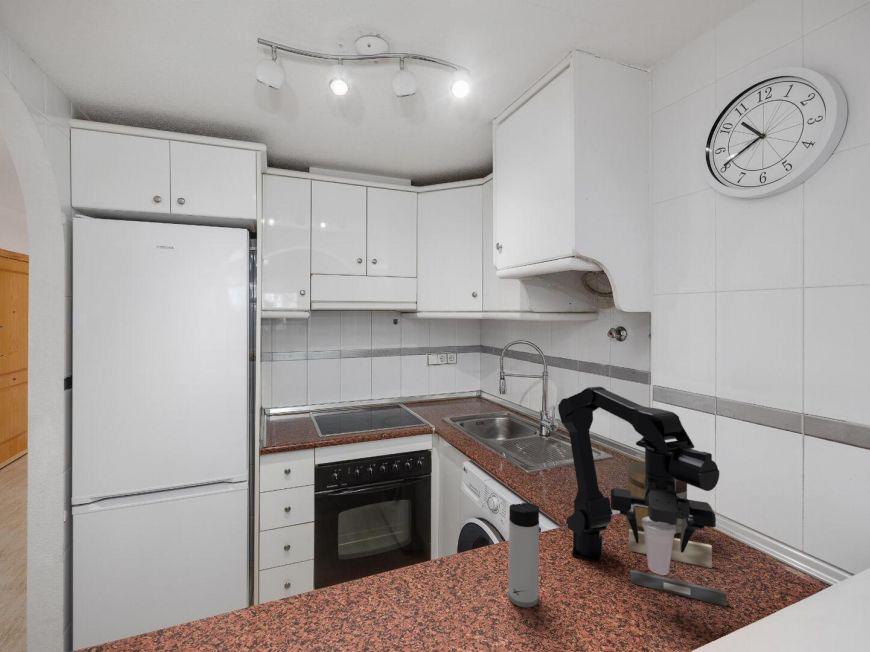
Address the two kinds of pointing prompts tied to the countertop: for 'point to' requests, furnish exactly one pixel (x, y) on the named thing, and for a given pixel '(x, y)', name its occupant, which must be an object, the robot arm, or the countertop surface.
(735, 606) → the countertop surface
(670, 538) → the smoothie
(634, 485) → the wooden container
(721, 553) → the countertop surface
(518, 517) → the travel mug
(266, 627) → the countertop surface
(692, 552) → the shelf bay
